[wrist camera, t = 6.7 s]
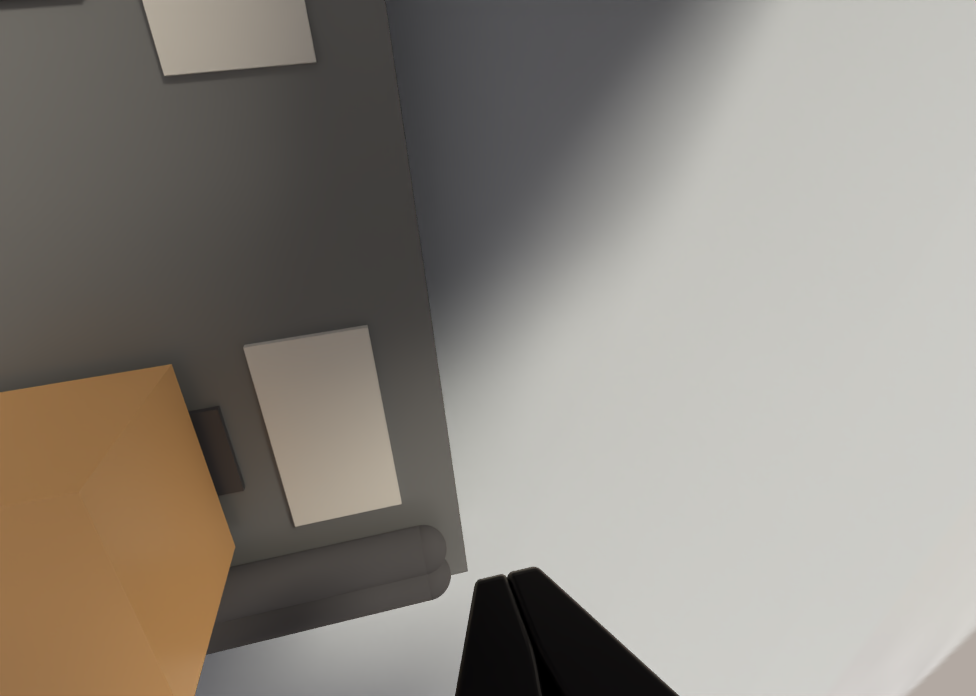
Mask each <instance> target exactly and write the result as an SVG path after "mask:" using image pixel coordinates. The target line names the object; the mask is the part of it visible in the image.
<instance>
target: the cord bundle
mask: <svg viewBox="0 0 976 696" xmlns="http://www.w3.org/2000/svg"><path fill="white" fill-rule="evenodd" d="M446 551H447V546H446V541H445V539H444V537H443V535H442V534H441V532H440V531H439V530H437V529H436V528H434V527H432V526H429V525H418V526H414V527H409V528H405V529H400V530H396V531H391V532H387V533H382V534H378V535H373V536H369V537H364V538H360V539H355V540H350V541H346V542H341V543H337V544H332V545H328V546H323V547H319V548H314V549H310V550H305V551H301V552H296V553H292V554H287V555H283V556H278V557H274V558H269V559H265V560H260V561H255V562H251V563H246V564H242V565H237V566H233V567H230V568H229V572H228V575H227V579H226V583H225V586H224V590H223V594H222V597H221V601H220V605H219V608H218V612H217V616H216V619H215V623H214V627H213V630H212V634H211V638H210V641H209V645H208V649H207V652H206V655H207V654H211V653H215V652H219V651H223V650H227V649H232V648H236V647H240V646H244V645H248V644H252V643H256V642H260V641H265V640H269V639H273V638H277V637H281V636H285V635H289V634H293V633H297V632H302V631H306V630H310V629H314V628H318V627H322V626H326V625H330V624H335V623H339V622H343V621H347V620H351V619H355V618H359V617H363V616H368V615H372V614H376V613H380V612H384V611H388V610H392V609H396V608H401V607H405V606H409V605H413V604H417V603H421V602H425V601H429V600H433V599H436V598H438V597H439V596H441V595H442V594H443V593H444V592H445V591H446V589H447V588H448V586H449V583H450V579H451V570H450V567H449V564H448V562H447V561H446V559H445V557H446Z"/></svg>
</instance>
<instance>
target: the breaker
mask: <svg viewBox="0 0 976 696" xmlns="http://www.w3.org/2000/svg"><path fill="white" fill-rule="evenodd" d="M234 550H235V544H234V541H233V538H232V536H231V533H230V530H229V527H228V524H227V521H226V518H225V515H224V513H223V510H222V507H221V504H220V501H219V498H218V495H217V493H216V490H215V487H214V484H213V481H212V478H211V475H210V473H209V470H208V467H207V464H206V461H205V458H204V455H203V452H202V450H201V447H200V444H199V441H198V438H197V435H196V432H195V430H194V427H193V424H192V421H191V418H190V415H189V412H188V410H187V407H186V404H185V401H184V398H183V395H182V392H181V389H180V387H179V384H178V381H177V378H176V375H175V372H174V369H173V367H172V364H169V365H163V366H157V367H151V368H145V369H139V370H133V371H127V372H121V373H115V374H109V375H102V376H96V377H90V378H84V379H78V380H72V381H66V382H60V383H54V384H48V385H42V386H36V387H30V388H24V389H18V390H12V391H6V392H0V696H195V692H196V689H197V685H198V681H199V678H200V674H201V671H202V667H203V663H204V660H205V656H206V652H207V649H208V645H209V641H210V638H211V634H212V630H213V627H214V623H215V619H216V616H217V612H218V608H219V605H220V601H221V597H222V594H223V590H224V586H225V583H226V579H227V575H228V572H229V568H230V564H231V561H232V557H233V553H234Z"/></svg>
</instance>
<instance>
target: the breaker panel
mask: <svg viewBox="0 0 976 696" xmlns="http://www.w3.org/2000/svg"><path fill="white" fill-rule="evenodd" d="M169 364H172V367H173V369H174V372H175V375H176V378H177V381H178V384H179V387H180V389H181V392H182V395H183V398H184V401H185V404H186V407H187V410H188V412H189V415H190V418H191V421H192V424H193V427H194V430H195V432H196V435H197V438H198V441H199V444H200V447H201V450H202V452H203V455H204V458H205V461H206V464H207V467H208V470H209V473H210V475H211V478H212V481H213V484H214V487H215V490H216V493H217V495H218V498H219V501H220V504H221V507H222V510H223V513H224V515H225V518H226V521H227V524H228V527H229V530H230V533H231V536H232V538H233V541H234V544H235V550H234V553H233V557H232V561H231V564H230V567H233V566H237V565H242V564H246V563H251V562H255V561H260V560H265V559H269V558H274V557H278V556H283V555H287V554H292V553H296V552H301V551H305V550H310V549H314V548H319V547H323V546H328V545H332V544H337V543H341V542H346V541H350V540H355V539H360V538H364V537H369V536H373V535H378V534H382V533H387V532H391V531H396V530H400V529H405V528H409V527H414V526H418V525H429V526H432V527H434V528H436V529H437V530H439V531H440V532H441V534H442V535H443V537H444V539H445V541H446V546H447V551H446V557H445V559H446V561H447V562H448V564H449V567H450V570H451V575H454V574H458V573H462V572H467V571H468V569H467V562H466V555H465V548H464V541H463V534H462V527H461V520H460V514H459V507H458V500H457V493H456V486H455V479H454V472H453V465H452V458H451V451H450V445H449V438H448V431H447V424H446V417H445V410H444V403H443V396H442V389H441V382H440V376H439V369H438V362H437V355H436V348H435V341H434V334H433V327H432V320H431V313H430V307H429V300H428V293H427V286H426V279H425V272H424V265H423V258H422V251H421V244H420V238H419V231H418V224H417V217H416V210H415V203H414V196H413V189H412V182H411V175H410V169H409V162H408V155H407V148H406V141H405V134H404V127H403V120H402V113H401V107H400V100H399V93H398V86H397V79H396V72H395V65H394V58H393V51H392V44H391V38H390V31H389V24H388V17H387V10H386V3H385V0H0V392H6V391H12V390H18V389H24V388H30V387H36V386H42V385H48V384H54V383H60V382H66V381H72V380H78V379H84V378H90V377H96V376H102V375H109V374H115V373H121V372H127V371H133V370H139V369H145V368H151V367H157V366H163V365H169Z"/></svg>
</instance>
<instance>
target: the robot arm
mask: <svg viewBox="0 0 976 696" xmlns="http://www.w3.org/2000/svg"><path fill="white" fill-rule="evenodd" d="M455 696H679V695H678V694H677V693H676V692H674V691H673V690H672V689H671V688H670V687H669V686H668V685H667V684H666V683H665V682H663V681H662V680H661V679H660V678H659V677H658V676H657V675H656V674H655V673H654V672H653V671H651V670H650V669H649V668H648V667H647V666H646V665H645V664H644V663H643V662H642V661H640V660H639V659H638V658H637V657H636V656H635V655H634V654H633V653H632V652H631V651H629V650H628V649H627V648H626V647H625V646H624V645H623V644H622V643H621V642H620V641H619V640H617V639H616V638H615V637H614V636H613V635H612V634H611V633H610V632H609V631H608V630H606V629H605V628H604V627H603V626H602V625H601V624H600V623H599V622H598V621H597V620H595V619H594V618H593V617H592V616H591V615H590V614H589V613H588V612H587V611H586V610H585V609H583V608H582V607H581V606H580V605H579V604H578V603H577V602H576V601H575V600H574V599H572V598H571V597H570V596H569V595H568V594H567V593H566V592H565V591H564V590H563V589H561V588H560V587H559V586H558V585H557V584H556V583H555V582H554V581H553V580H552V579H551V578H549V577H548V576H547V575H546V574H545V573H544V572H543V571H542V570H541V569H539V568H537V567H529V568H525V569H521V570H517V571H512V572H510V573H509V574H508V577H506V576H505V575H503V574H500V575H496V576H492V577H487V578H483V579H479V580H478V581H477V582H476V583H475V586H474V592H473V597H472V603H471V609H470V614H469V620H468V625H467V631H466V637H465V642H464V648H463V654H462V659H461V665H460V671H459V676H458V682H457V688H456V693H455Z"/></svg>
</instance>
